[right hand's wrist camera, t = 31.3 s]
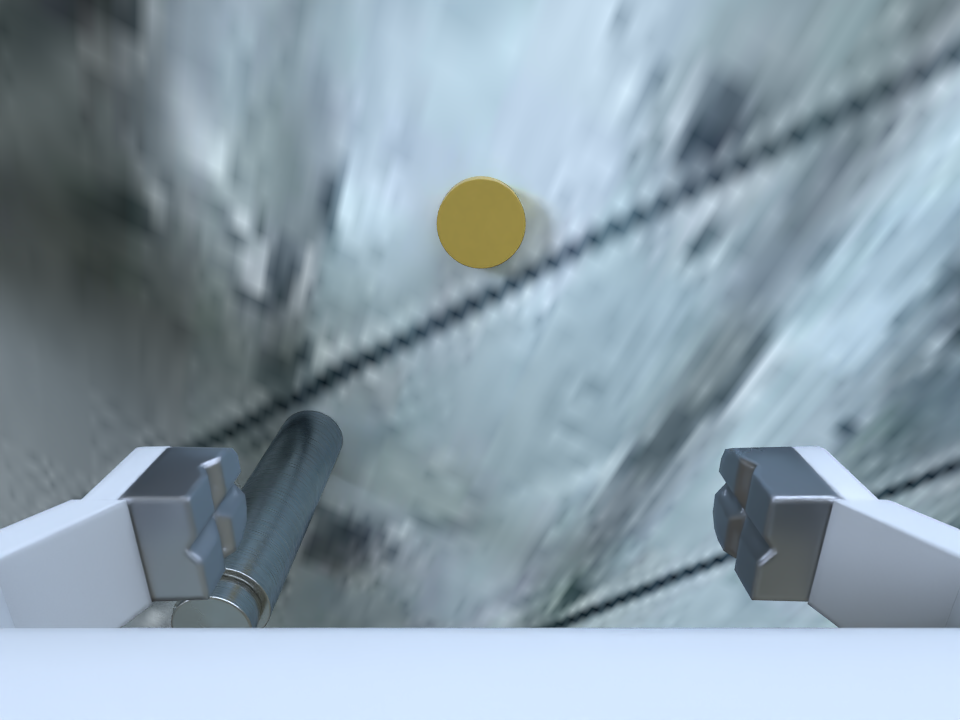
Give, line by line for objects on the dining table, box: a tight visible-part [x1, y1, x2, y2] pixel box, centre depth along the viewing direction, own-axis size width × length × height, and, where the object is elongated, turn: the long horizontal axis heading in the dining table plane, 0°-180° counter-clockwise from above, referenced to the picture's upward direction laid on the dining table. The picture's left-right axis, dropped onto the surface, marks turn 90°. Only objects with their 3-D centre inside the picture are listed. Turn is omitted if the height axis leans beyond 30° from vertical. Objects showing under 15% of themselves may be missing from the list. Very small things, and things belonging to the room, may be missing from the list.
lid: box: [437, 176, 526, 268], centre depth 35 cm, size 5×5×2 cm
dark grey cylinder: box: [171, 411, 342, 628], centre depth 34 cm, size 4×4×17 cm
